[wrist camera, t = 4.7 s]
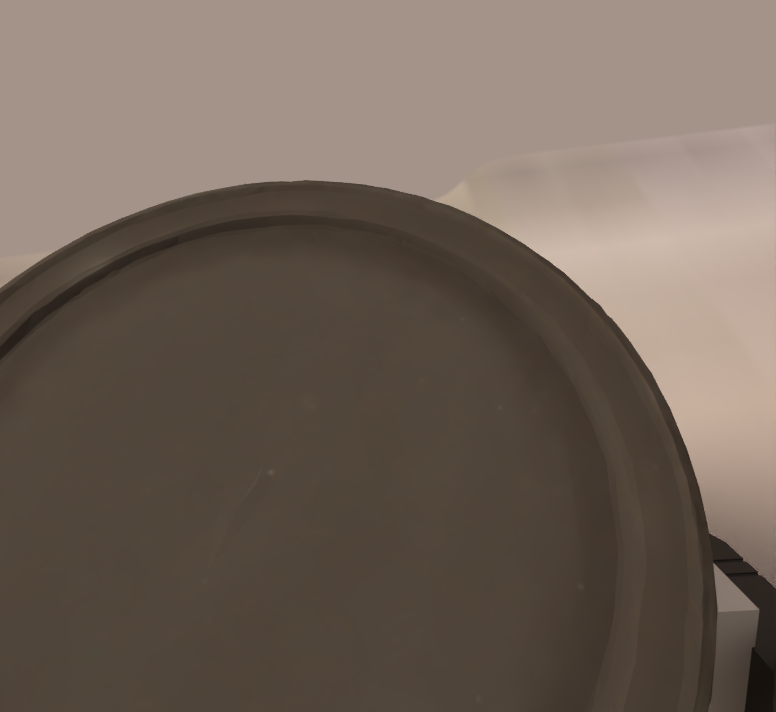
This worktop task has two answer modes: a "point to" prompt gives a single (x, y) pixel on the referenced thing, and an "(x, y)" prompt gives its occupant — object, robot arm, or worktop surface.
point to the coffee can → (337, 472)
